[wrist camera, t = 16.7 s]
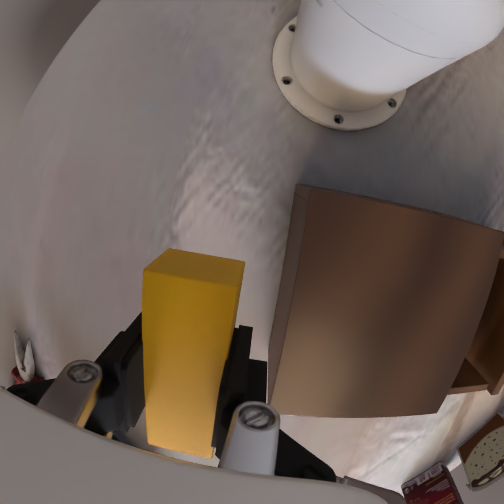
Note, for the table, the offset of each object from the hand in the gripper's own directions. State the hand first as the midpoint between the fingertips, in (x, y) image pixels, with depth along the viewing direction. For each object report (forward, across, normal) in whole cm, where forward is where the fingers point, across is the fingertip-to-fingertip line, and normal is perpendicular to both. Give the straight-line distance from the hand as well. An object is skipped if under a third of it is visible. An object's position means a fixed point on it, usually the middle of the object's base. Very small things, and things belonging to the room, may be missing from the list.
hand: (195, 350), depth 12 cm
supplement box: (+17, -38, +36) cm, 55 cm away
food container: (+17, -46, +26) cm, 55 cm away
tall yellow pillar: (0, 0, 0) cm, 0 cm away
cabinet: (+17, -12, +2) cm, 21 cm away
